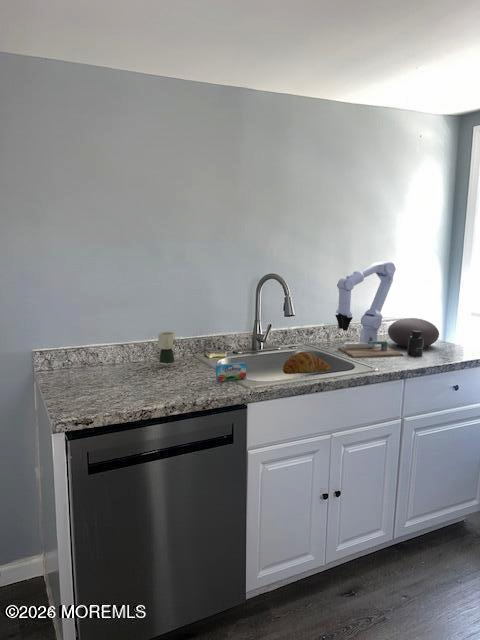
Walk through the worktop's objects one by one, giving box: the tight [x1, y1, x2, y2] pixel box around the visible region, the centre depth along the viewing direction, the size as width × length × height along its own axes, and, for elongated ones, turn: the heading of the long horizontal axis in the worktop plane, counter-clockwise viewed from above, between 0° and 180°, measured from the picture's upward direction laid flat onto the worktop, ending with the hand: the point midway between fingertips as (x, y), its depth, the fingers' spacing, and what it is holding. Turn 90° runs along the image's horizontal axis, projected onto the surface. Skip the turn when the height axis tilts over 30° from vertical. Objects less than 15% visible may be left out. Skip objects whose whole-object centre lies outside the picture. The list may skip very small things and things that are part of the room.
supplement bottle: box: [406, 330, 424, 358], centre depth 220 cm, size 7×7×12 cm
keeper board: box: [338, 340, 404, 359], centre depth 226 cm, size 18×25×5 cm
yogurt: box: [215, 361, 247, 383], centre depth 177 cm, size 12×2×6 cm, turn 114°
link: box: [343, 337, 374, 349], centre depth 230 cm, size 15×4×5 cm, turn 100°
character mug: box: [157, 331, 176, 365], centre depth 199 cm, size 11×7×13 cm, turn 19°
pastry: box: [282, 351, 332, 375], centre depth 191 cm, size 21×13×8 cm, turn 111°
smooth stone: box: [387, 317, 440, 348], centre depth 240 cm, size 25×25×15 cm
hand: (343, 329), depth 234 cm, fingers open, 5 cm apart
